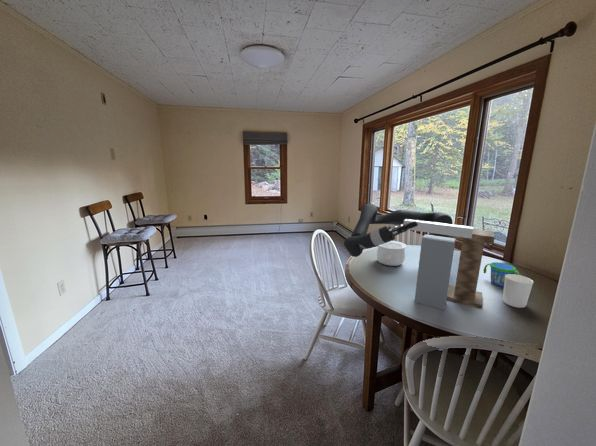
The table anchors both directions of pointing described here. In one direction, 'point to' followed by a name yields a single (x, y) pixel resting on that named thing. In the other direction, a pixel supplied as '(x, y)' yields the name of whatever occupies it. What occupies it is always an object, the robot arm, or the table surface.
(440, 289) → the slate plinth
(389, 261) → the pot
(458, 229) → the aluminium bar
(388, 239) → the robot arm
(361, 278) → the table surface
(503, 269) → the snack cup
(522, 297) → the candle holder
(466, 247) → the walnut pedestal
